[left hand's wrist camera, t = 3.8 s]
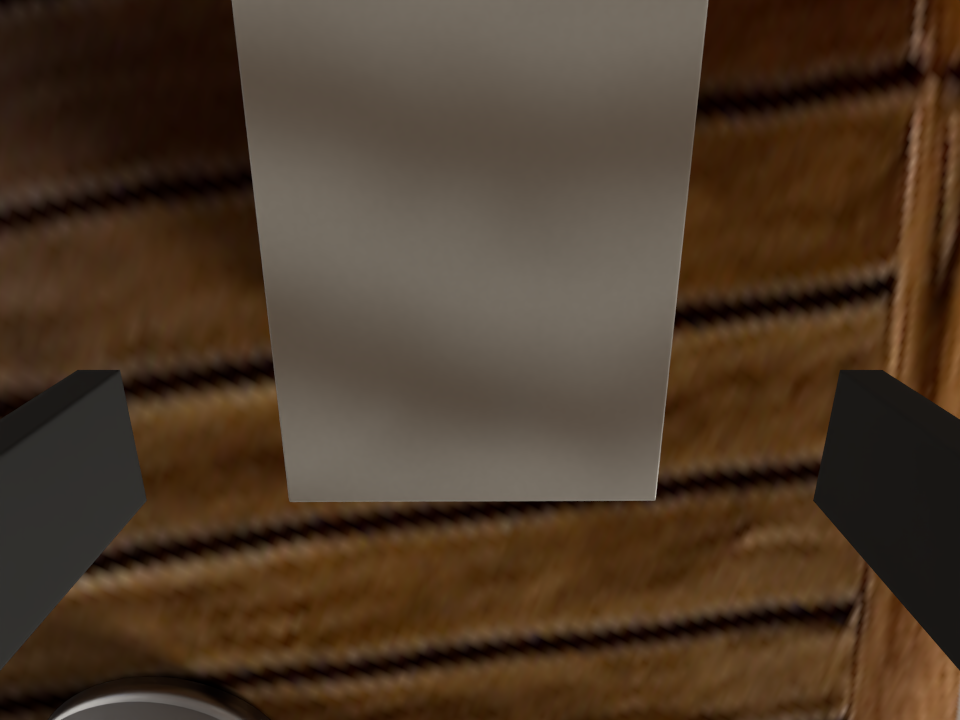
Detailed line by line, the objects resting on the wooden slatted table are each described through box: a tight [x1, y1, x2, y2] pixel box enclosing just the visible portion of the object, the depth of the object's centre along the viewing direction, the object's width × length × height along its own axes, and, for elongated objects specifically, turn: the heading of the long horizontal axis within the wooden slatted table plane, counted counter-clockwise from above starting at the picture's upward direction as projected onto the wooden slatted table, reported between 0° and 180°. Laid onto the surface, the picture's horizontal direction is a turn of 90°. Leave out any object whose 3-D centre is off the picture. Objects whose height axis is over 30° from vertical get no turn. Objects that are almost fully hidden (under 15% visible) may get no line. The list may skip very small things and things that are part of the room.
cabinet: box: [232, 0, 708, 502], centre depth 21 cm, size 21×11×11 cm, turn 0°
